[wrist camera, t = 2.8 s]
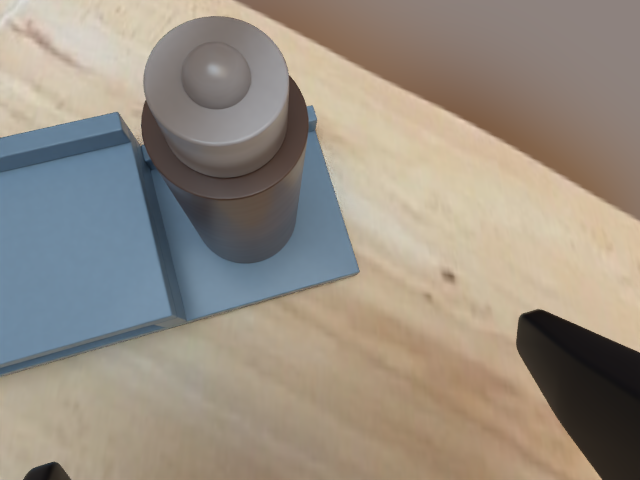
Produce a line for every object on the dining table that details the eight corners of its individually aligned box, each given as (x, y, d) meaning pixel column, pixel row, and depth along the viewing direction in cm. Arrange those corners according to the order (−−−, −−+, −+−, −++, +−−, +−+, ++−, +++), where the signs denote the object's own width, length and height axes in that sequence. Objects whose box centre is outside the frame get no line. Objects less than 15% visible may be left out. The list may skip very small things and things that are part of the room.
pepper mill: (315, 201, 24) (355, 37, 11) (260, 283, 23) (240, 197, 10) (233, 150, 24) (187, -66, 12) (175, 228, 23) (58, 81, 11)
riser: (357, 274, 24) (379, 253, 19) (-19, 382, 21) (-110, 391, 16) (309, 123, 25) (318, 66, 20) (-47, 208, 23) (-137, 167, 18)
